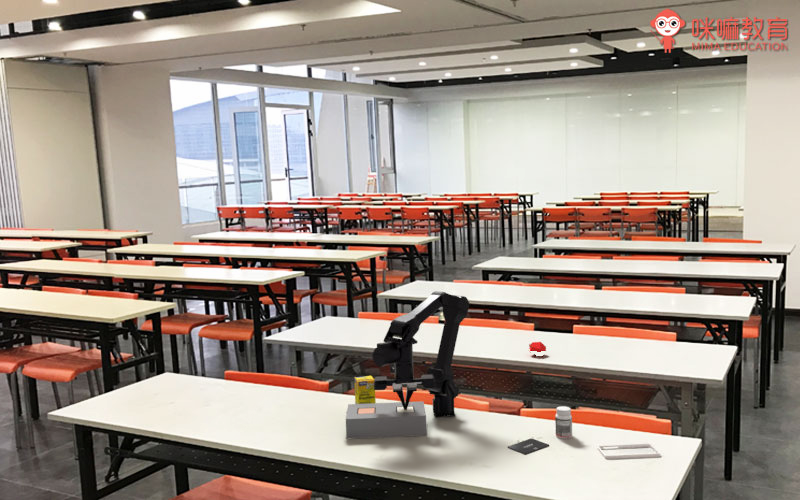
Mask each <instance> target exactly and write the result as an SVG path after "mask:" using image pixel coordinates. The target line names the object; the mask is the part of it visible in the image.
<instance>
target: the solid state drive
mask: <svg viewBox="0 0 800 500" xmlns="http://www.w3.org/2000/svg"><path fill="white" fill-rule="evenodd" d="M548 447H550V444H549V443H546V442H543V441H540V440H538V439H535V438H528V439H525V440H522V441H520V442H519V441H518V442H517V443H514V444H511V445H508V446H507V448H508V449H509V450H512V451H515V452H517V453H518V454H519V453H520V454H522V455H525V456H527V455H528V454H531V453H534V452H537V451H539V450H543V449H545V448H548Z"/></svg>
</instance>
